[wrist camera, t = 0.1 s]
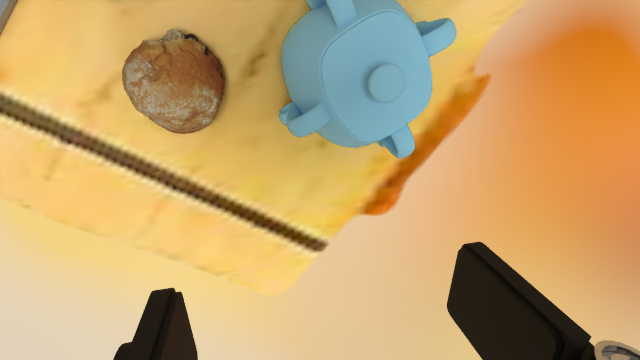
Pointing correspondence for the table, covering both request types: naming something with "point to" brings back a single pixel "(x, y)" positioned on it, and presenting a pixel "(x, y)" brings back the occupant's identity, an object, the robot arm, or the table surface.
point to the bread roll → (175, 82)
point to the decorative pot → (360, 72)
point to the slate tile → (5, 11)
